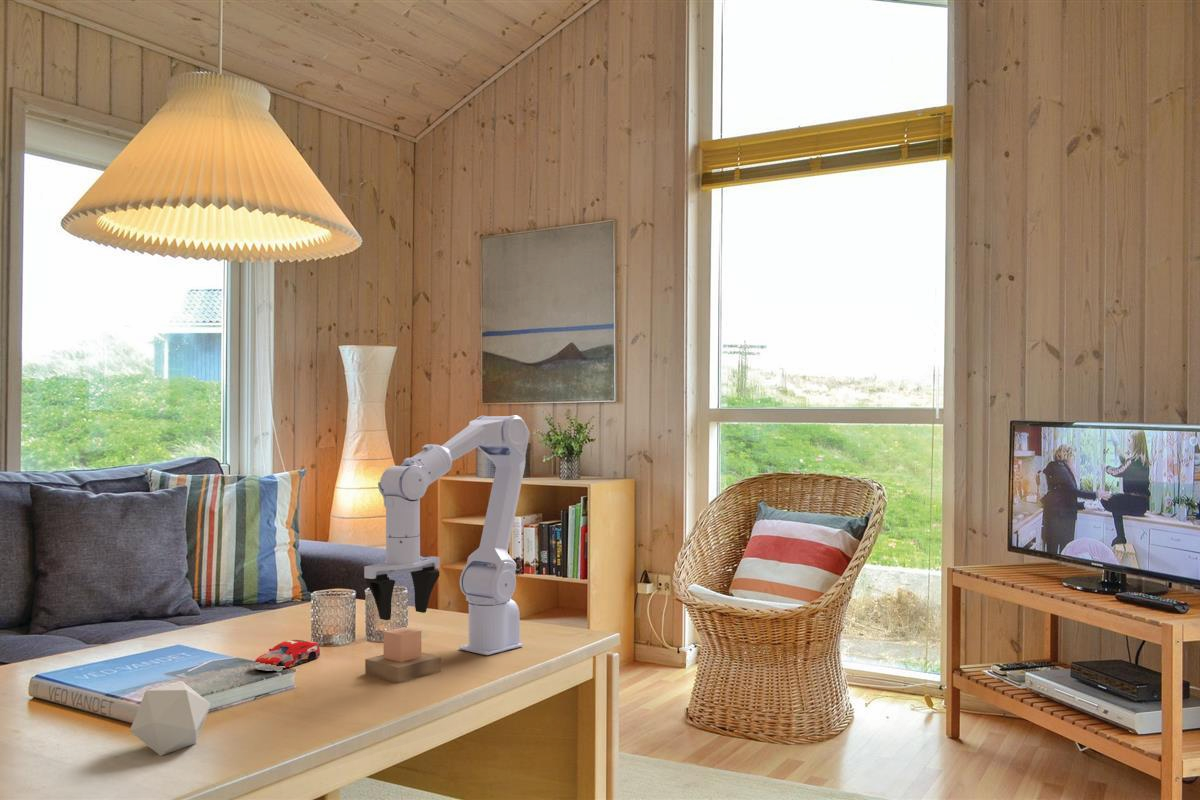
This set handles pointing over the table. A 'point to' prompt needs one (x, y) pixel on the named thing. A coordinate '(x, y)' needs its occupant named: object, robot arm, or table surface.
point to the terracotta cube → (402, 644)
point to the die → (170, 717)
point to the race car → (291, 653)
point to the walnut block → (402, 667)
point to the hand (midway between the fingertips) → (403, 615)
